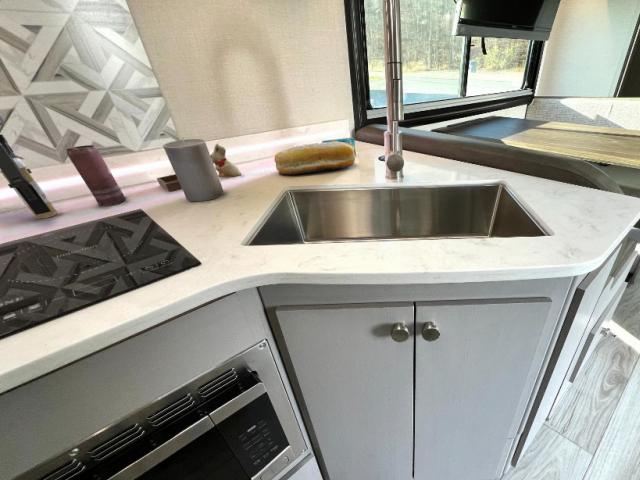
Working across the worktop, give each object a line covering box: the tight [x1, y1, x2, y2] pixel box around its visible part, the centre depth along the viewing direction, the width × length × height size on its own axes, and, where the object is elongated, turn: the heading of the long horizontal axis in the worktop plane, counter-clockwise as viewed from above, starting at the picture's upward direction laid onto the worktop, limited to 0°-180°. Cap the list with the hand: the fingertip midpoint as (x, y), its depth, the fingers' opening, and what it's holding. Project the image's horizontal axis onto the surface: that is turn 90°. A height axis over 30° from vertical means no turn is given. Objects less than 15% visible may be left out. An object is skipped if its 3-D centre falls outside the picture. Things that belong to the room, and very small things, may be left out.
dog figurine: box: [210, 142, 243, 178], centre depth 102 cm, size 6×8×10 cm
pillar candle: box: [161, 136, 225, 202], centre depth 84 cm, size 10×10×15 cm
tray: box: [156, 173, 182, 193], centre depth 97 cm, size 11×9×2 cm
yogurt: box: [321, 136, 357, 156], centre depth 118 cm, size 12×2×6 cm, turn 112°
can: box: [66, 144, 126, 207], centre depth 82 cm, size 6×6×14 cm
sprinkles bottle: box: [0, 157, 59, 219], centre depth 76 cm, size 5×5×14 cm
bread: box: [274, 142, 356, 176], centre depth 105 cm, size 13×26×8 cm, turn 111°
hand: (42, 206), depth 79 cm, fingers open, 11 cm apart
